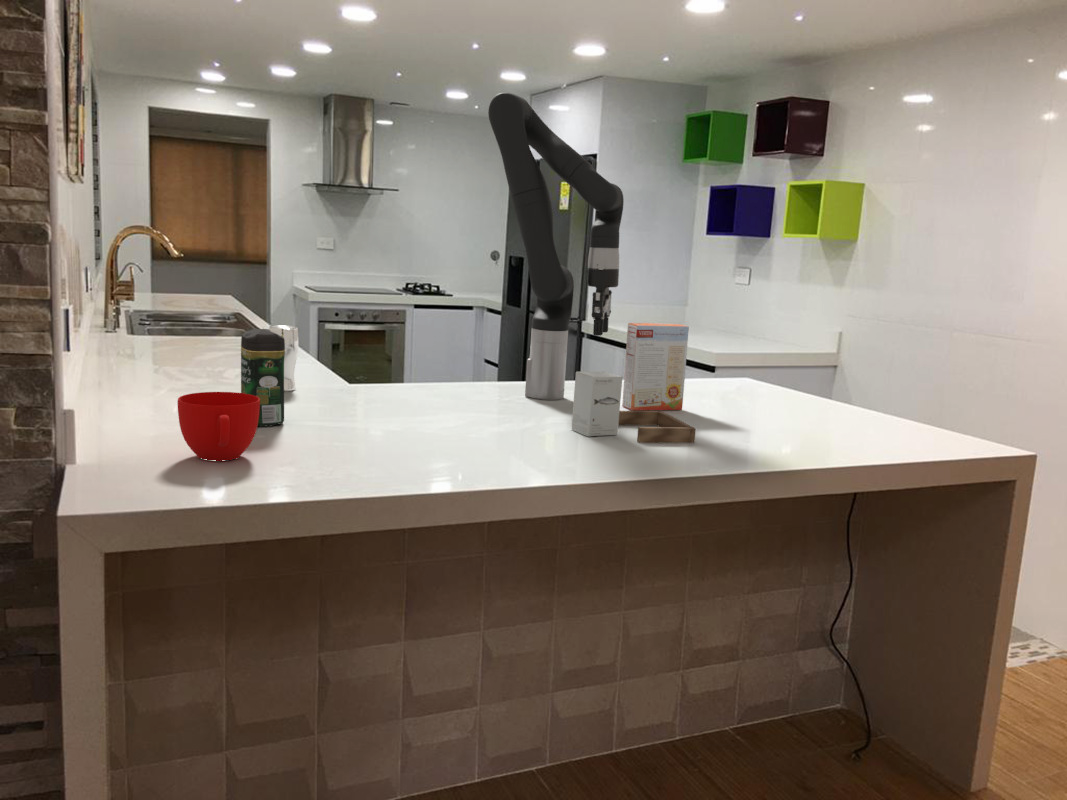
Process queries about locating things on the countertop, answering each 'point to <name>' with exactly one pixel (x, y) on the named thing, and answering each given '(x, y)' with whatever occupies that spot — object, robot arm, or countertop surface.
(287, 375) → the beer glass
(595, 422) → the supplement box
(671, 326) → the cracker box
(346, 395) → the countertop surface
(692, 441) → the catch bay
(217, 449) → the ceramic cup
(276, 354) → the coffee jar
